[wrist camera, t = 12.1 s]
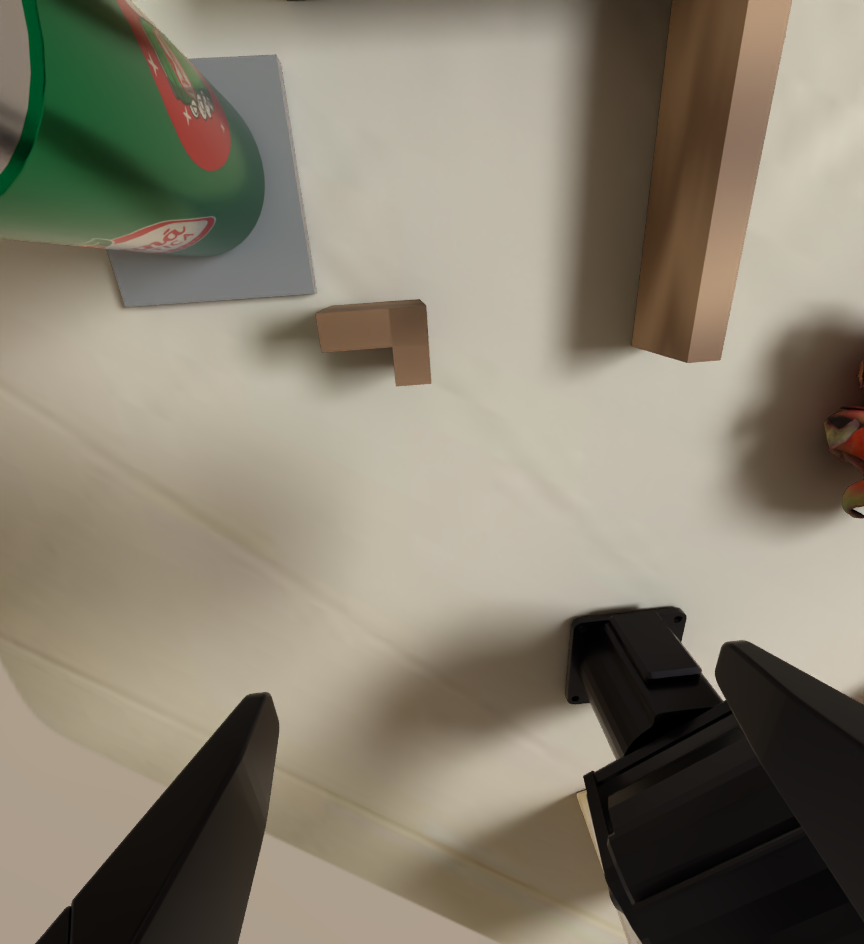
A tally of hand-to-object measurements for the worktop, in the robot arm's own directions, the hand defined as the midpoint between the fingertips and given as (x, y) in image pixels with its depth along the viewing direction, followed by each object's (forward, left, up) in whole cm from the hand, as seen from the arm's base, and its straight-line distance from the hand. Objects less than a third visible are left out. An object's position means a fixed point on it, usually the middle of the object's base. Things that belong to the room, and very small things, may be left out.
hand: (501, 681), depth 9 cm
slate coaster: (+10, +8, -13) cm, 18 cm away
